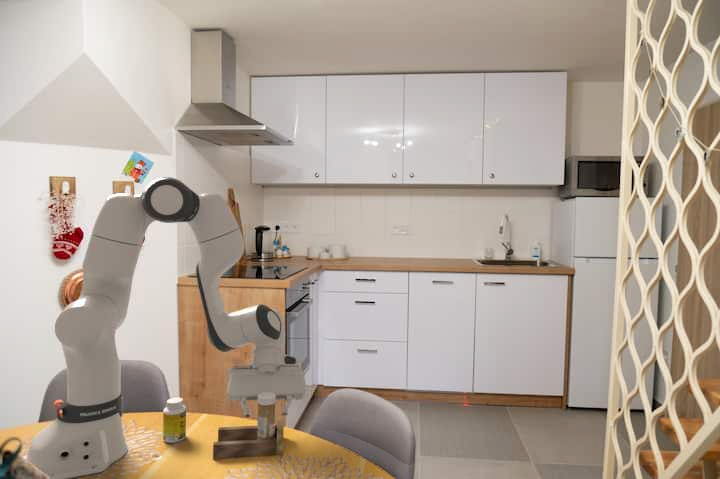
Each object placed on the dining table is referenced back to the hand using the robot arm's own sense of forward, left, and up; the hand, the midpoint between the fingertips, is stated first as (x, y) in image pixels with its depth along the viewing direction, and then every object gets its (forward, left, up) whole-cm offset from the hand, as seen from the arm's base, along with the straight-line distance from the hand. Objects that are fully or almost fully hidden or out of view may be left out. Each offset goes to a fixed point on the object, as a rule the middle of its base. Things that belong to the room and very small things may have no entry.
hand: (266, 415), depth 115 cm
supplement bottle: (-17, +18, -9) cm, 26 cm away
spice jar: (0, +1, -9) cm, 9 cm away
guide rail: (-3, +2, -8) cm, 9 cm away
